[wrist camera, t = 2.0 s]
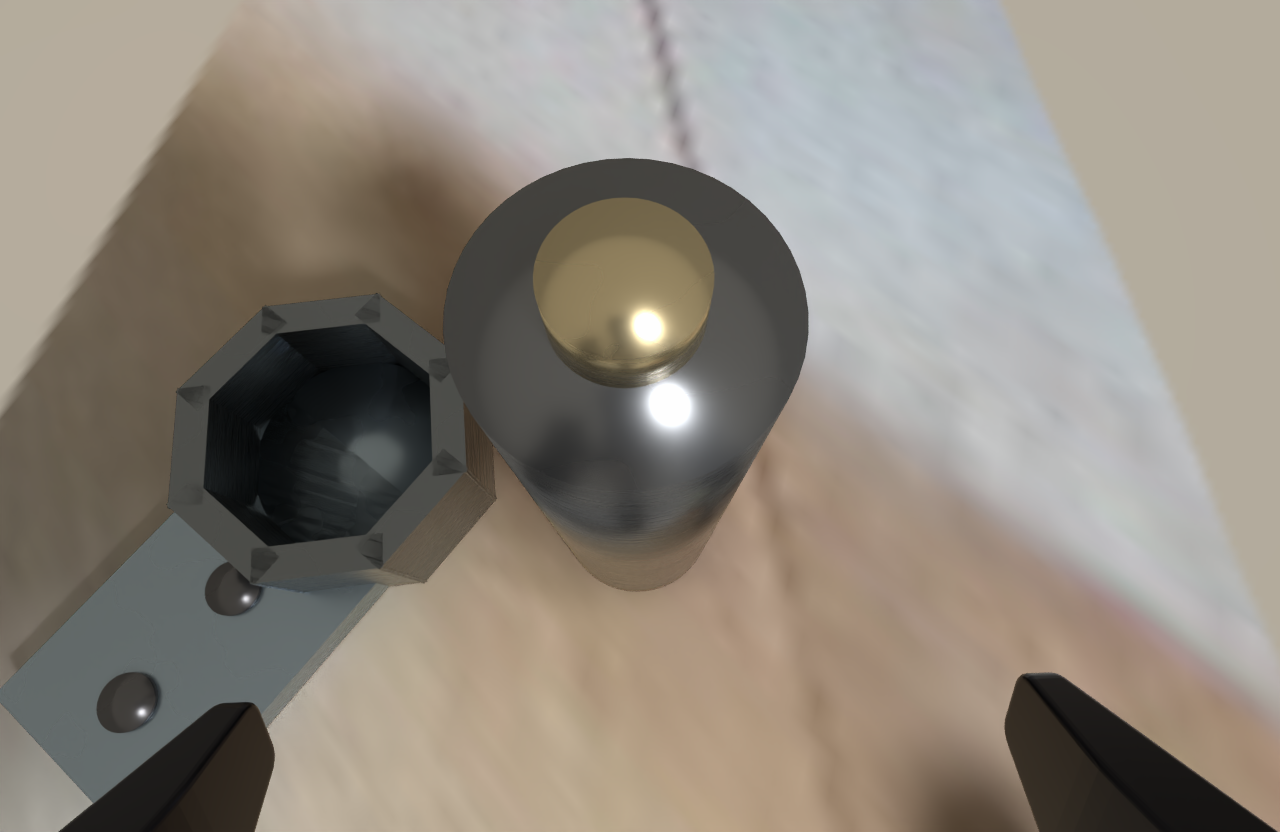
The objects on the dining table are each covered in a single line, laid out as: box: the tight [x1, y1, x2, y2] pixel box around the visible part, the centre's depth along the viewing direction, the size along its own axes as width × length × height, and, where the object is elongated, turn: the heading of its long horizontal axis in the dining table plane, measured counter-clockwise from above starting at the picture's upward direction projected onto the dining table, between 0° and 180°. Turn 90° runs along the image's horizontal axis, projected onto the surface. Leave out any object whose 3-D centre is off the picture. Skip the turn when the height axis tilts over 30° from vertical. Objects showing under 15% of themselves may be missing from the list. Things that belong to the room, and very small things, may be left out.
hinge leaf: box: [0, 293, 496, 803], centre depth 18 cm, size 14×7×4 cm, turn 142°
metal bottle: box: [443, 158, 808, 592], centre depth 14 cm, size 4×4×14 cm
